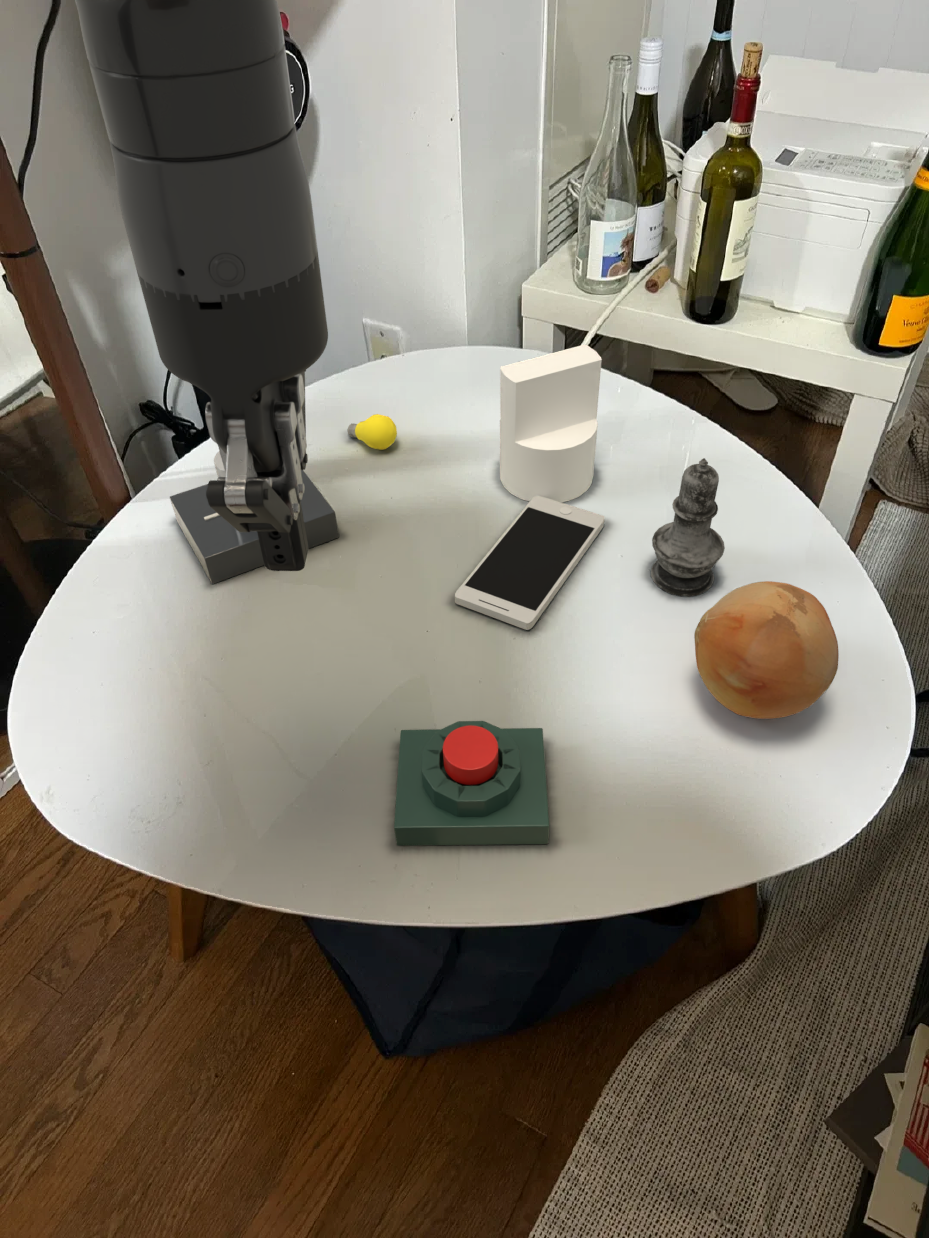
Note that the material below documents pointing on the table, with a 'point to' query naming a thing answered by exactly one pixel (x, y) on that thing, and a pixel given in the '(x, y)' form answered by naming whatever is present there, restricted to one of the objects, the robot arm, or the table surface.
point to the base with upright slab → (549, 424)
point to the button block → (471, 792)
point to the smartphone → (530, 562)
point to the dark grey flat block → (236, 550)
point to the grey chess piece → (689, 536)
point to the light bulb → (375, 431)
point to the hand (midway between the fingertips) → (287, 562)
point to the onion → (766, 650)
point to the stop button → (470, 755)
